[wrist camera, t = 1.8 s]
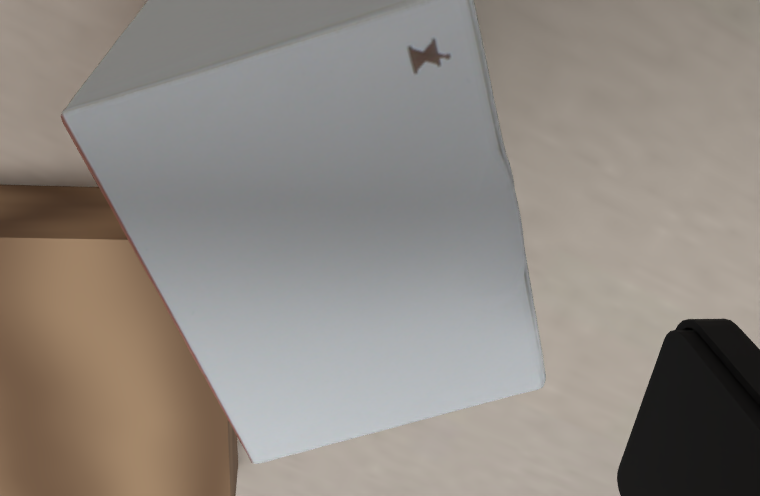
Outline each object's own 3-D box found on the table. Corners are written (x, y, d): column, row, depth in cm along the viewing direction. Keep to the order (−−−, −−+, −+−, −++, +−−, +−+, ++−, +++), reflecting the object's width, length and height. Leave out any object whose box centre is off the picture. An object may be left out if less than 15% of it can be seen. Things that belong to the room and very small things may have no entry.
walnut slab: (230, 185, 25) (220, 241, 22) (238, 458, 32) (231, 532, 29) (-195, 173, 24) (-278, 233, 20) (-88, 465, 31) (-136, 545, 27)
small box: (175, -43, 21) (42, 105, 10) (380, -108, 21) (481, -31, 10) (269, 189, 25) (250, 476, 14) (440, 138, 25) (558, 391, 14)
